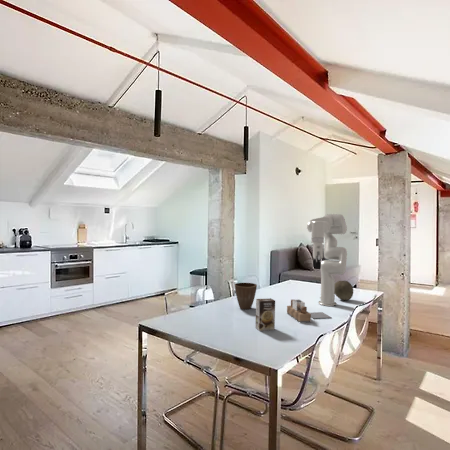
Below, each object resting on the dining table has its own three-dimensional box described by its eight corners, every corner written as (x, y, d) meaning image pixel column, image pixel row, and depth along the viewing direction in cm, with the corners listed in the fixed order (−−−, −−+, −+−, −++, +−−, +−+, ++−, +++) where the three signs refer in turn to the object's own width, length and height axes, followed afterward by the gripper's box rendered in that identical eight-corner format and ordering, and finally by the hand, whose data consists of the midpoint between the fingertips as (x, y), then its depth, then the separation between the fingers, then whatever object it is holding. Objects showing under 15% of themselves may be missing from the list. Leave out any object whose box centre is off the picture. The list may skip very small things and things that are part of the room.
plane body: (286, 313, 219) (287, 299, 219) (297, 313, 220) (297, 299, 220) (299, 322, 199) (299, 307, 199) (310, 322, 201) (310, 307, 201)
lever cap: (292, 308, 213) (292, 299, 213) (300, 308, 214) (300, 299, 214) (296, 311, 206) (297, 302, 206) (304, 310, 207) (304, 301, 207)
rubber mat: (305, 313, 219) (305, 312, 219) (322, 313, 221) (322, 312, 221) (313, 319, 207) (313, 318, 207) (331, 318, 210) (331, 317, 210)
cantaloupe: (350, 298, 265) (350, 279, 265) (355, 302, 251) (355, 282, 251) (331, 297, 267) (332, 278, 267) (335, 302, 253) (336, 281, 253)
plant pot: (255, 311, 222) (255, 287, 221) (232, 310, 225) (232, 286, 224) (257, 306, 236) (257, 283, 236) (236, 304, 239) (236, 282, 239)
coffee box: (259, 331, 183) (259, 301, 183) (255, 327, 189) (255, 298, 189) (275, 330, 185) (275, 300, 185) (270, 326, 191) (270, 297, 191)
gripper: (326, 241, 206) (325, 269, 205) (321, 240, 223) (320, 266, 223) (313, 240, 207) (312, 269, 206) (309, 240, 224) (308, 266, 224)
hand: (316, 267), depth 215 cm, fingers open, 9 cm apart
